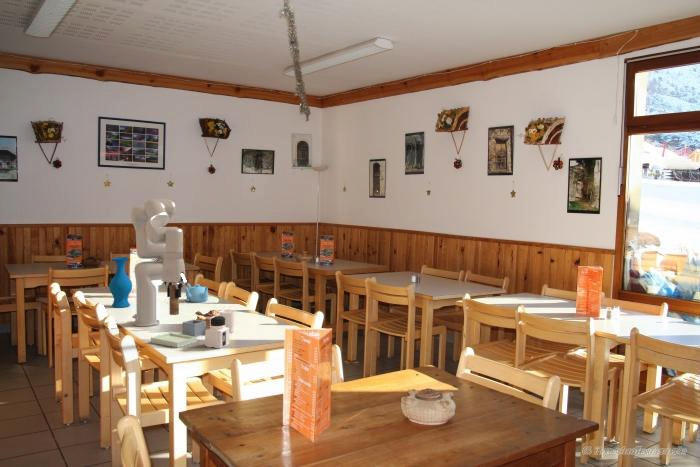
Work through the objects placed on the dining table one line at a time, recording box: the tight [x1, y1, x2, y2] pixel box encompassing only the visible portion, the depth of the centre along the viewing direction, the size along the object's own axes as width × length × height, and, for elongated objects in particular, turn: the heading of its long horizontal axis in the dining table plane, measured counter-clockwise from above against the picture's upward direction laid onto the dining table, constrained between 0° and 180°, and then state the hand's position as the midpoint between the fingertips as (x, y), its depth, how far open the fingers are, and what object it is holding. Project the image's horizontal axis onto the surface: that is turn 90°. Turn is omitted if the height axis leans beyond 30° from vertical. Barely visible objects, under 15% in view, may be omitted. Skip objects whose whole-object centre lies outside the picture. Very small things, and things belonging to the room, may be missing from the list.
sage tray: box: [150, 332, 198, 348], centre depth 270 cm, size 16×12×2 cm
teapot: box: [184, 282, 209, 303], centre depth 370 cm, size 15×15×10 cm
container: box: [204, 315, 230, 349], centre depth 266 cm, size 8×8×13 cm
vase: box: [108, 256, 133, 308], centre depth 348 cm, size 12×13×28 cm
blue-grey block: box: [182, 319, 207, 338], centre depth 286 cm, size 8×8×6 cm
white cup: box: [218, 309, 237, 334], centre depth 292 cm, size 8×8×10 cm
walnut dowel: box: [169, 284, 180, 316], centre depth 269 cm, size 4×4×13 cm
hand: (174, 296), depth 269 cm, fingers closed on walnut dowel, 4 cm apart
